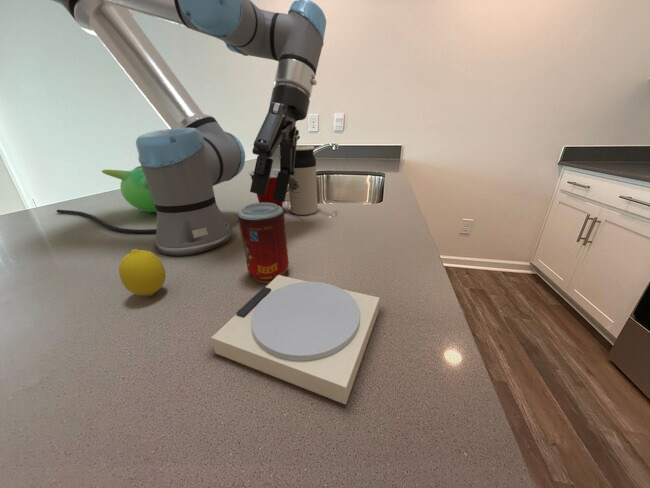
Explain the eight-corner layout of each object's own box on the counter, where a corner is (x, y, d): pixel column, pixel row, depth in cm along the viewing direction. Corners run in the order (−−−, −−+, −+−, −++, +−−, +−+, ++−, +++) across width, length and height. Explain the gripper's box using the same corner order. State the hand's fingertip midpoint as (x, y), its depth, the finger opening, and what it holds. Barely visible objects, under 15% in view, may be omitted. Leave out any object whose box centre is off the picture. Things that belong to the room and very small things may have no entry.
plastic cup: (283, 218, 71) (279, 174, 66) (247, 216, 74) (240, 174, 68) (295, 207, 81) (293, 167, 76) (264, 205, 83) (259, 167, 78)
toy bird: (203, 204, 86) (193, 158, 79) (164, 222, 71) (147, 167, 65) (158, 202, 90) (145, 158, 83) (112, 218, 75) (92, 166, 69)
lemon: (143, 286, 43) (125, 242, 39) (177, 283, 43) (163, 240, 40) (122, 307, 38) (100, 260, 34) (161, 304, 38) (143, 257, 35)
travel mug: (309, 205, 82) (306, 145, 74) (322, 212, 76) (320, 147, 68) (286, 210, 78) (280, 147, 70) (298, 217, 72) (293, 149, 64)
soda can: (246, 268, 47) (235, 203, 42) (284, 261, 50) (278, 198, 44) (251, 289, 41) (238, 217, 36) (293, 279, 44) (288, 210, 38)
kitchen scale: (215, 353, 30) (209, 332, 28) (279, 287, 41) (277, 270, 40) (345, 405, 24) (346, 381, 23) (378, 312, 36) (380, 292, 34)
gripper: (297, 55, 39) (267, 194, 41) (317, 122, 63) (298, 206, 65) (250, 46, 39) (223, 184, 41) (288, 115, 64) (270, 199, 66)
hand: (269, 198), depth 53 cm, fingers open, 13 cm apart
